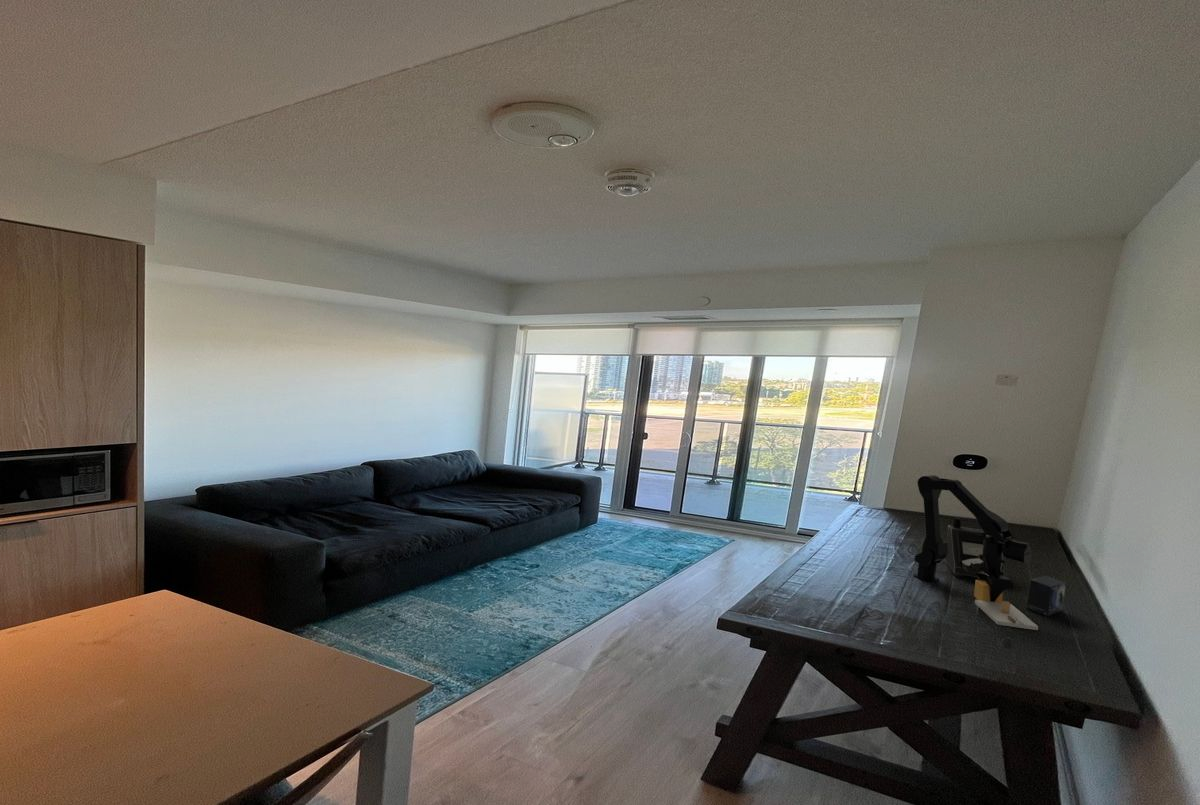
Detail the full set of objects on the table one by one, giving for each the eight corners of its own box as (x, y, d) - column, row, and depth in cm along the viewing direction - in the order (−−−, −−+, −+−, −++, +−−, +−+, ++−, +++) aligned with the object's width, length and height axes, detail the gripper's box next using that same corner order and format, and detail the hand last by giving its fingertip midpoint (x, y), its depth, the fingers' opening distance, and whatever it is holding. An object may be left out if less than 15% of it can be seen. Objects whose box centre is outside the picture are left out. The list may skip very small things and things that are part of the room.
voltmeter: (953, 577, 208) (959, 526, 206) (944, 563, 223) (949, 516, 221) (1003, 585, 202) (1009, 533, 200) (990, 570, 217) (995, 522, 215)
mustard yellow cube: (973, 595, 190) (975, 579, 190) (993, 598, 189) (994, 581, 188) (981, 602, 184) (983, 586, 184) (1001, 605, 183) (1003, 588, 183)
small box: (1048, 617, 176) (1052, 586, 175) (1025, 608, 182) (1028, 579, 181) (1063, 612, 181) (1067, 581, 180) (1040, 603, 186) (1044, 574, 186)
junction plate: (974, 603, 184) (976, 589, 184) (1011, 608, 181) (1012, 594, 181) (998, 625, 168) (999, 610, 168) (1038, 631, 165) (1040, 616, 165)
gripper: (955, 542, 196) (951, 584, 197) (978, 560, 178) (973, 605, 179) (989, 546, 194) (985, 588, 195) (1016, 564, 176) (1011, 610, 177)
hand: (987, 597), depth 187 cm, fingers closed on mustard yellow cube, 6 cm apart
